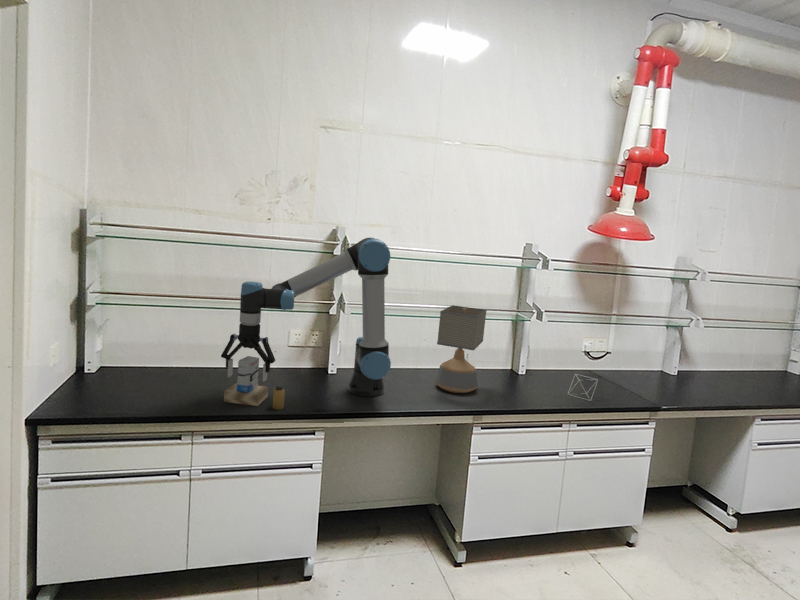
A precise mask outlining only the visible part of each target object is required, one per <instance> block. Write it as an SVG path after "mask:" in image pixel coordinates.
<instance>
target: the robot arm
mask: <svg viewBox="0 0 800 600" xmlns="http://www.w3.org/2000/svg"><path fill="white" fill-rule="evenodd" d="M390 260H391V251H390V249H389V247H388V245H387V244H386V243H385V242H384V241H383V240H381V239H379V238H374V237H365V238H364V239H363V238H362V239H361V240H360V241H358V242H357V243H355V244H353V245H351V246H349V247H348V248H345V250H344V252H342V253H340V254H339V255H336V256H335V257H333V258H330V259H328V260H326V261H324V262H322V263H319V264H318V265H316V266H314V267H311V268H310V269H308V270H306V271H304V272H301V273H299V274H296V275H294V276H292V277H290V278H289V279H287V280H285V281H283V282H280V283H276V284H274V285H273V286H272V287H271V288H264V286H263V283H262V282H259V281H244V282H243V283H241V290H240V300H239V301H240V303H239V304H240V306H239V307H240V308H239V309H240V310H239V323H240V324H239V326H238V327H239V329H238V334H236V333H232V334H231V335H230V336H229V340H228V342H227V345H226V346H225V348H224V350H223V351H222V353H221V355H220V357H221V358H223V359H225V368H226V369H227V378H231V377H232V376H233V368H234V367H233V365H234V359H233V356H234V355H235V354H237V353H238V351H239V350H240V349H241V348H242V347H243V348H244V349H246V348H247V349H254V350H255V351H256V352H257V354H258V355H259V356H260V357H259V358H261V359H262V361H263V362H264V364H262V365H263V366H262V367H263V368H262V380H261V381H262V382H266V381H267V379H268V373H270V371H271V364H274V363H275V362H276V358H275V356H274V353H273V351H272V348H271V346H270V343H269V338H268V337H267V336H265V337H261V324H260V323H261V317H262V315H261V314H262V309H265V310H266V309H268V310H269V309H271V310H282V311H288V310H289V311H291V310H293V309H294V308H295V307H294V306H295V298H296V297H298V296H300V295H303V294H305V293H307V292H308V291H311V290H313V289H315V288H317V287H320V286H321V285H324V284H326V283H328V282H329V281H332V280H333V279H336V278H338V277H340V276H342V275H344V274H346V273H349V272H350V271H355V272H356V271H357V275H358V276H359V277H360V278H361V293H362V297H361V299H362V304H361V306H362V307H361V308H362V309H361V310H362V336H359V337H358V338H356V340H355V341H356V342H355V353H354V366H353V373H352V375H351V378H350V380H349V383H348V392H350V394H353V395H354V396H355V395H356V396H361V397H378V396H379V397H380V396H382V395H384V393H385V385H384V379H383V378H384V377H385V376H387V375H388V374H389V372H390V370H391V366H392V362H391V358H390V355H389V354H390V353H389V351H390V350H389V349H390V348H389V341H387V340H386V339H385V337H386V336H385V335H386V332H385V330H386V327H385V324H386V320H385V316H386V315H385V313H386V312H385V310H386V308H385V303H386V302H385V300H386V299H385V279H386V277H387V276H388V275H389V263H390ZM236 340H238V341H239V343H238V344H237V345H236V346H235V347H234V348H233V349H232V351H230V350H231V348H232V347H233V345H234V343H235V341H236ZM260 342H261V344H262V346H263V348H264V349H263V348H262V346H261V345H260Z"/></svg>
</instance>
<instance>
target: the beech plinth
mask: <svg viewBox="0 0 800 600" xmlns="http://www.w3.org/2000/svg"><path fill="white" fill-rule="evenodd" d="M268 396H269V386H265V385H258V387H256V388H255V389H253V390H252V391H250V392H249V393H247V392H240V391H237V382H235V383H234V384H232V385H231V386H229V387H228V388H227V389H225V390H223V402H224V403H232V404H239V405H248V406H254V407H258V406H259V405H260V404H261V403H262V402H263V401H265V400H266V399H268Z"/></svg>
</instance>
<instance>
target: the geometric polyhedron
mask: <svg viewBox="0 0 800 600" xmlns="http://www.w3.org/2000/svg"><path fill="white" fill-rule="evenodd" d="M575 376H576V378H577V381H576V383H575V384H574V386H573V383H574V380H575ZM578 376H581V377H585V378H590V379H591V380H593V381H595V382H594V384H592V386H591V387H590V388H589V390H588V391H586V390H585V388H584V386H583V385H582V384H583V383H582V382H581V379H579V377H578ZM598 382H599V379H598V378H593V377H591V376H586V375H581V374H578V373H574V376H573V378H572V381H571V383H570V386H569V389H568V391H567V395H569V396H572V397H575V398H579V399H583V400H586V401H590V402H591V401H592V400H593V399H592V398H593V396H594V393H595V390H596V387H597V384H598ZM578 383H579V384H580V386H581V387H582V389H583V391H584V392H585V393H583V392H581V395H586V396H587V397H588V398H587V399H586V398H583V397H580V396H576V395H574V394H571V393H570V392H571V391H572V390H573V389H574V388H575V386H576V385H577V384H578ZM594 385H595V387H594ZM572 386H573V387H572ZM593 387H594V389H593V392H592V395H591V397H589V394H588V393H589V391H590V390H591V389H592V388H593Z"/></svg>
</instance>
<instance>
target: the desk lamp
mask: <svg viewBox="0 0 800 600" xmlns="http://www.w3.org/2000/svg"><path fill="white" fill-rule="evenodd" d="M439 313H440V314H439V323H438V331H437V333H438V334H437V341H436V345H438V346H443V347H445V346H446V347H450V348H457V349H455V350H454V355H453V358H450V359H448V360H446V361H443V362H442V363H441V364H440V365H439V368H438V370H437V371H438V372H437V375H436V376H435V377H436V378H435V384H436V385H437V386H438V387H440V388H441V389H442V390H444V391H446V392H449V393H453V394H467V393H470V392H473V391H474V390H477V388H478V377H477V376H478V375H477V369H476V367H475V366H474V365H473V364H471V363H470V362H469V361H468V360H466V359H465V357H466V356H465V350H468V351H469V350H470V351H475V350H476V349H477V348H478V347H479V346H480V345H481V344H482V343H483V342H484V336H485V335H484V334H485V326H486V318H487V317H486V316H487V309H482V308H475V307H467V306H461V305H453V304H452V305H450V306H448V307H446V308H444V309H441V311H440V312H439Z"/></svg>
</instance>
